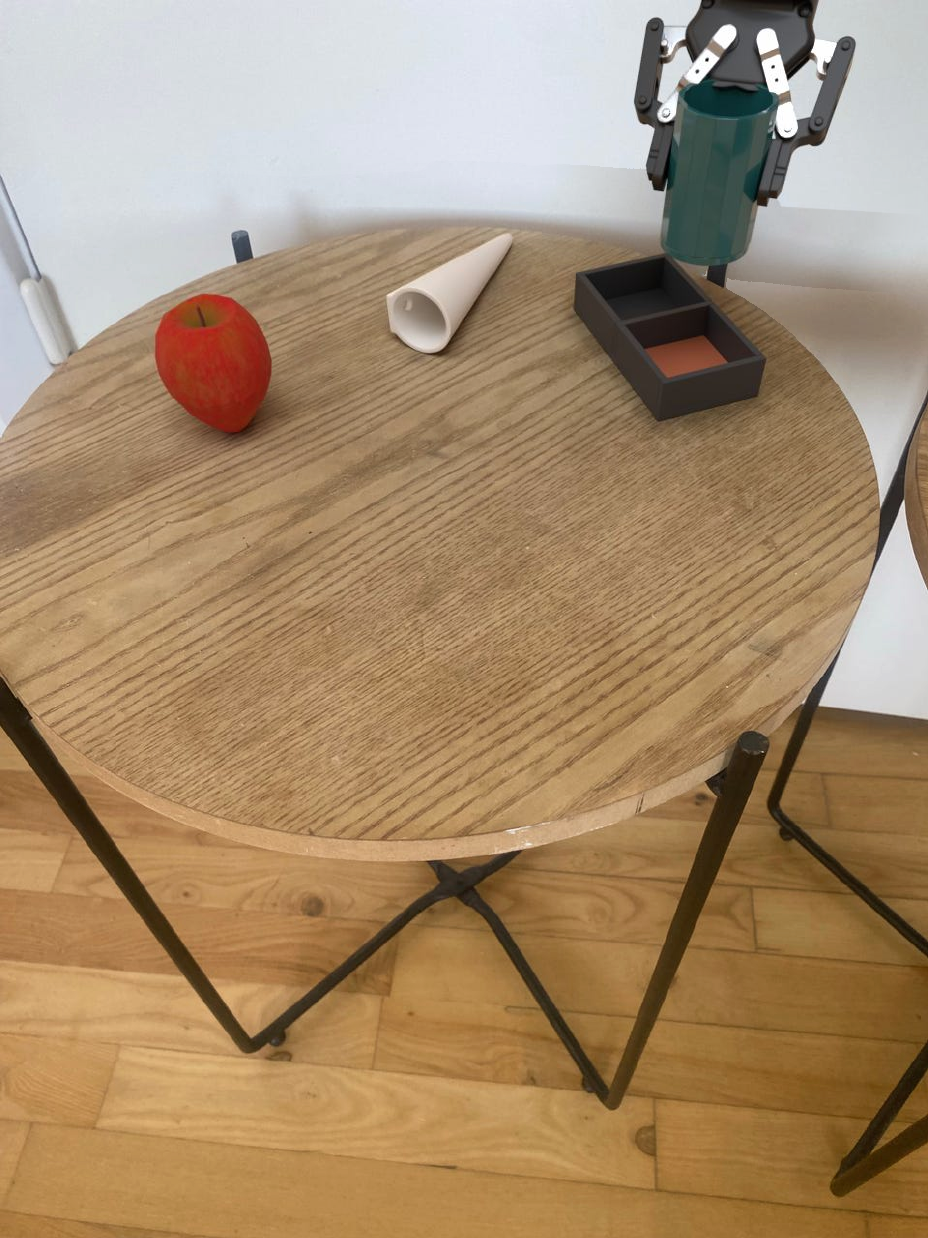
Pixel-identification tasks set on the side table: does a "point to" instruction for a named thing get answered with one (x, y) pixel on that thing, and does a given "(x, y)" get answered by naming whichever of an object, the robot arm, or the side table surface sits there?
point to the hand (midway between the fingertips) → (709, 193)
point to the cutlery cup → (716, 172)
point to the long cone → (443, 297)
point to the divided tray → (667, 336)
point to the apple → (214, 360)
